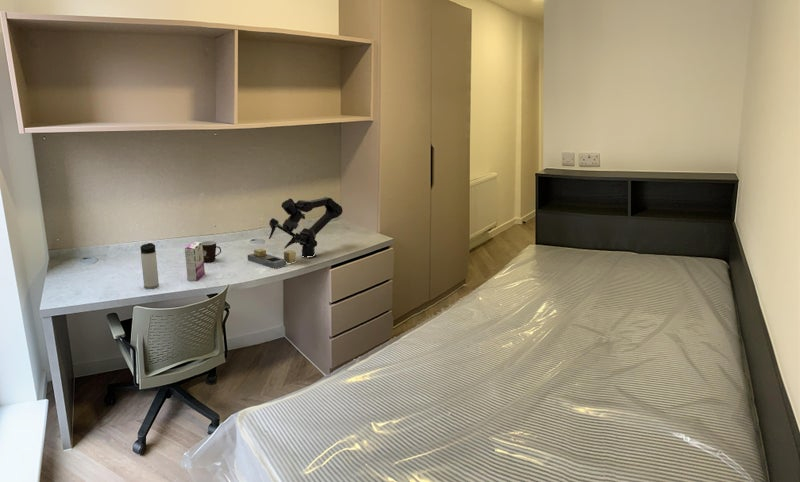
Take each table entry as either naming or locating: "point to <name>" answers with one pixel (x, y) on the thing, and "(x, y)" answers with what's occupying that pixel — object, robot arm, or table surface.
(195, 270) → the candy bar box
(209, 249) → the coffee mug
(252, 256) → the grey slotted base
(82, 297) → the table surface
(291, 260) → the tan wooden block
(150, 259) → the travel mug
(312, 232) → the robot arm
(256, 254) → the seated nut
